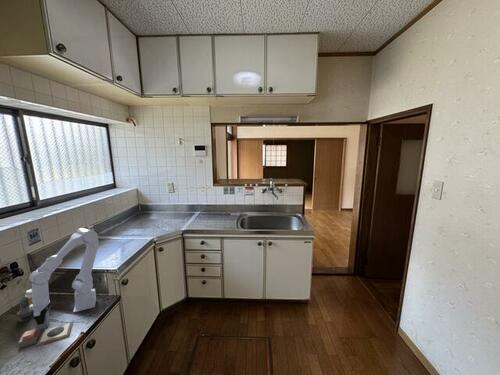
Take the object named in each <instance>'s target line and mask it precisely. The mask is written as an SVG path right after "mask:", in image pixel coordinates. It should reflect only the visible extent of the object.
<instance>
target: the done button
mask: <svg viewBox="0 0 500 375" xmlns="http://www.w3.org/2000/svg"><path fill="white" fill-rule="evenodd" d="M36 333H37V331H36V328H34V329H30V330H27V331H25V332H24V333H23V334H24V335H23V334H22V335H23V337H22V336H21V337H22V338H23V340H26V339H30V338H33V337H35V335H36Z"/></svg>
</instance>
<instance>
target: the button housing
mask: <svg viewBox="0 0 500 375" xmlns="http://www.w3.org/2000/svg"><path fill="white" fill-rule="evenodd" d="M36 331H37V333H36V335H35V337H33V338H30V339H26V340H23V338H22V337H23V335H24V333H22V335H21V337H20V339H19V341H18V349H21V348H23V347H27V346H30V345H34V344H35V345H36V344H37V342H38V340H39V338H40V335H41V330H40V329H39V330H36Z"/></svg>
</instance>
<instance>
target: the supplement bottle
mask: <svg viewBox="0 0 500 375" xmlns="http://www.w3.org/2000/svg"><path fill="white" fill-rule="evenodd" d="M24 296H25V297H28V300H29V302H30V304H29V306H30V305H31V304H33V301H32V288H30V289H27V290H26V291H25V295H24Z"/></svg>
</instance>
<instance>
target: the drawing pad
mask: <svg viewBox="0 0 500 375" xmlns="http://www.w3.org/2000/svg"><path fill="white" fill-rule="evenodd" d="M73 323H74V322H73V321H68V322H66V323H62V324H59V325H55V326H51V327H47V328H44V329H42V331H41V332H40V337H39V339H38V341H37V343H36V347H39V346H43V345H46V344H48V343H53V342H56V341H59V340H63V339H66V338H69V337H70V334H71V331H72V326H73ZM68 336H69V337H68ZM65 337H66V338H65ZM62 338H63V339H62ZM52 341H53V342H52Z"/></svg>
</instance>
